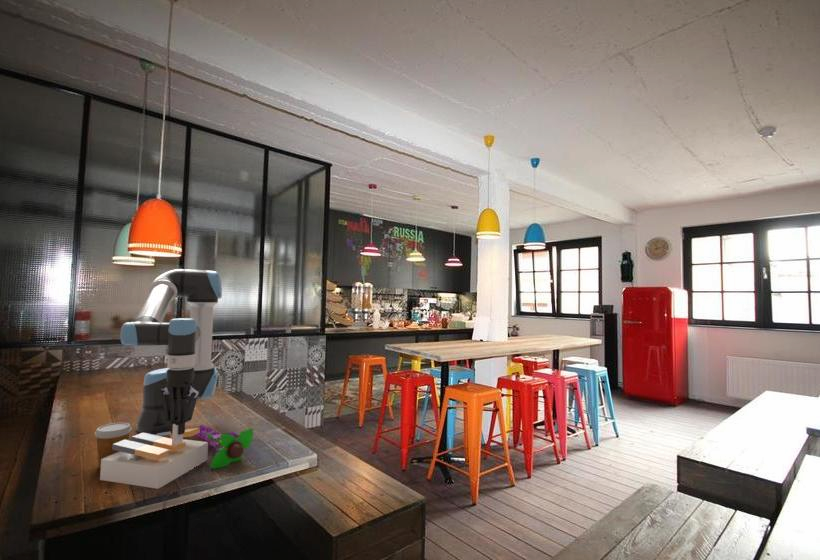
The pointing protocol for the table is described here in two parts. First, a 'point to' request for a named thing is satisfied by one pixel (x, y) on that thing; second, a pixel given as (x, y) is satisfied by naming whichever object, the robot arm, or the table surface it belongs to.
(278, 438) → the table surface
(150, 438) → the rocker mid
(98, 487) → the table surface
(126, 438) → the disposable coffee cup
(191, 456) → the switch box
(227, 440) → the potted plant
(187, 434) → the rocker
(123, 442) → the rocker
